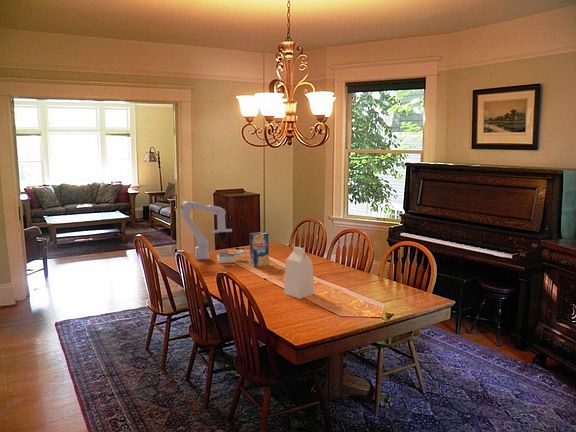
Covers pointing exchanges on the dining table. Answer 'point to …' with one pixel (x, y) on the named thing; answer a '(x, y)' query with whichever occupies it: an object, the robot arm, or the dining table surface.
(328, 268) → the dining table surface
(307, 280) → the milk
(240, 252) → the side flap
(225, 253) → the front flap
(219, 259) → the carton
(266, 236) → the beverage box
